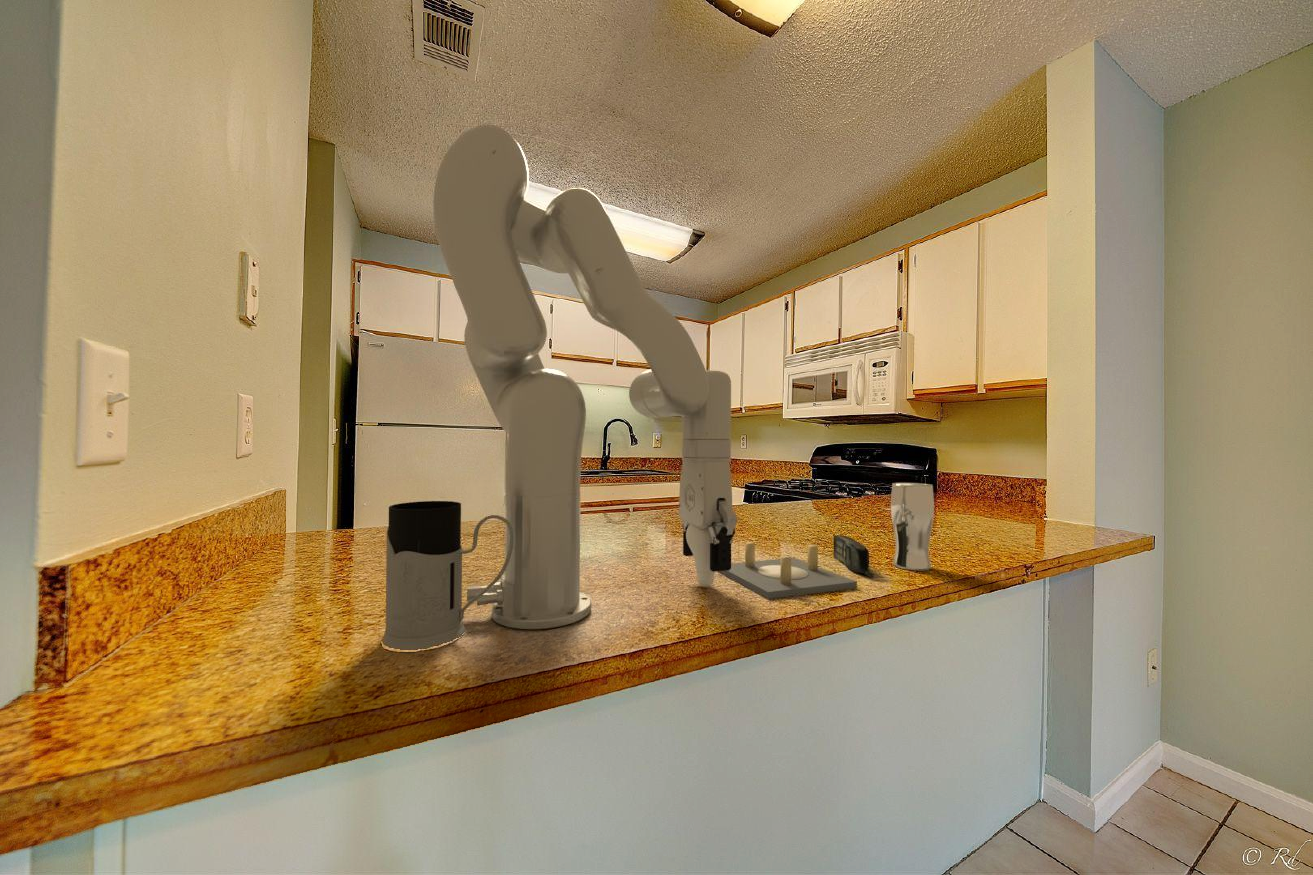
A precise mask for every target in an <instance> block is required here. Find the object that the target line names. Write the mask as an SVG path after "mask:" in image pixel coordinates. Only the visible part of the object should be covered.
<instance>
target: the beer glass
mask: <svg viewBox="0 0 1313 875" xmlns="http://www.w3.org/2000/svg"><path fill="white" fill-rule="evenodd" d="M891 484H892V485H891V493H890V495H891V496H890V516H891V522H892V529H893V533H894V540H895V551H894V556H893V563H892V564H893V566H894V567H896V568H898V569H902V570H907V571H913V572H915V571H916V572H928V571H931V569H932V564H931V559H930V553H929V552H930V551H929V550H930V549H929V546H930V539H931V533H932V529H933V526H934V525H933V524H934V518H935V500H934V486H933V485H934V484H930V483H921V482H920V483H919V482H893V483H891Z"/></svg>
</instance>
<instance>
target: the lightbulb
mask: <svg viewBox="0 0 1313 875" xmlns="http://www.w3.org/2000/svg"><path fill="white" fill-rule="evenodd" d="M716 530H717V533H719V531H720V529H716ZM686 540H687V543H688V545H689V547H690V549H691V551H692V553H693V560H694V563H695V565H694V567H695V570H696V578H697V583H698V585H701V587H703V588H709V587H710V586H712V585H713V584H714V582H715V572H713V571H711V570H710V543H713V541H712V538H711V535H710V532H709V528H708V525H707V527H706V528H704V529H701V528H698V527H695V526H693V525H691V524H689V526H688V528H687V531H686Z"/></svg>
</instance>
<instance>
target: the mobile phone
mask: <svg viewBox="0 0 1313 875" xmlns="http://www.w3.org/2000/svg"><path fill="white" fill-rule="evenodd" d="M833 557H834V559H835V560H837V561H838V562H840V563H841V564H842V565H844V566H845V567H846V568H847V569H848V570H849V571H851V572H853V573H859V574H864V575H865V576H867V577H869V578H871V579H874V576H875V575H874V574H873V573H871V572H870V551H869V550H868V548H867V547H866V546H865V545H863V544H862V543H861V542H858V541H857V540H855V539H854V538H852V537H850V536H846V535H834V536H833Z"/></svg>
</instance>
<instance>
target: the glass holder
mask: <svg viewBox="0 0 1313 875" xmlns="http://www.w3.org/2000/svg"><path fill="white" fill-rule="evenodd" d="M491 519H497V520H500V521H502V522H503V523H506V524H507V526H508V528H509V532H510V544H509V551H508V555H507V558H506V561H505V560H504V563H503V565H502V567H501V569H500V570H499V573H498V574H497V576H496V577H494V579H493V580H492V581H491V582H490V583H489V584H488V585H486V586H487V587H486V588H485V589H484V590H483V591H481V592H480V593H479V594H477V595H476V596H475V597H474V598H473V599H471V600H470V601H469V602H467V603H465V605H464V606H463V605H462V604H463V555H464V554H465V555H467V554H470V553H472V552H473V551H474V550H476V547H477V545H478V537H479V536H478V535H479V531H480V529H481V526H482V525H483V524H484V523H485V522H486V521H488V520H491ZM461 537H462V503H461V502H458V501H452V500H450V501H449V500H425V501H422V500H421V501H410V502H401V503H396V504H395V503H394V504H392V505H390V506H388V527H387V530H386V559H385V560H386V563H385V565H386V567H385V568H386V569H385V570H386V571H385V573H386V574H385V629H384V634H383V636H382V638H381V640H382V642H383V644H384V645H385V646H388V647H389V648H394V649H400V650H418V649H427V648H430V647H433V646H439V645H441V644H443V643H447V642H450V641H453V640H454V639H456V638H459V637H461V636H462V634H463V633H464V632H465V629H466V627H465V624H464V623H463V620H464V617H465V615H464V614H465V611H466V610H467V609H468V607H470V606H471V605H472V604H473V603H475V602H477V601H476V600H477V599H478V598H479V597H481V596H482V595H483V594H484V593H485V592H486V591H487V590H489V589H490V588H491V587H492V586H493V585H494V584H495V583H496V582H499V580H500V579H501V576H502V575H504V574H505V569H506V567H507V565H508V563H509V561H510V557H511V554H512V550H513V539H514V536H513V528H512V526H511V524H510V522H509V521H508V520H506V517H504V516H502V515H501V516H500V515H497V514H491V515H488V516H487V515H486V516H484V518H482V519H481V520H479V521H478V523H477V524H476V526H475V528H474V532H473V536H472V537H473V538H472V541H473V542H472V547H471V548H470V549H463V546H462V544H461V543H462V542H461V541H462V538H461ZM465 633H466V632H465Z"/></svg>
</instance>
